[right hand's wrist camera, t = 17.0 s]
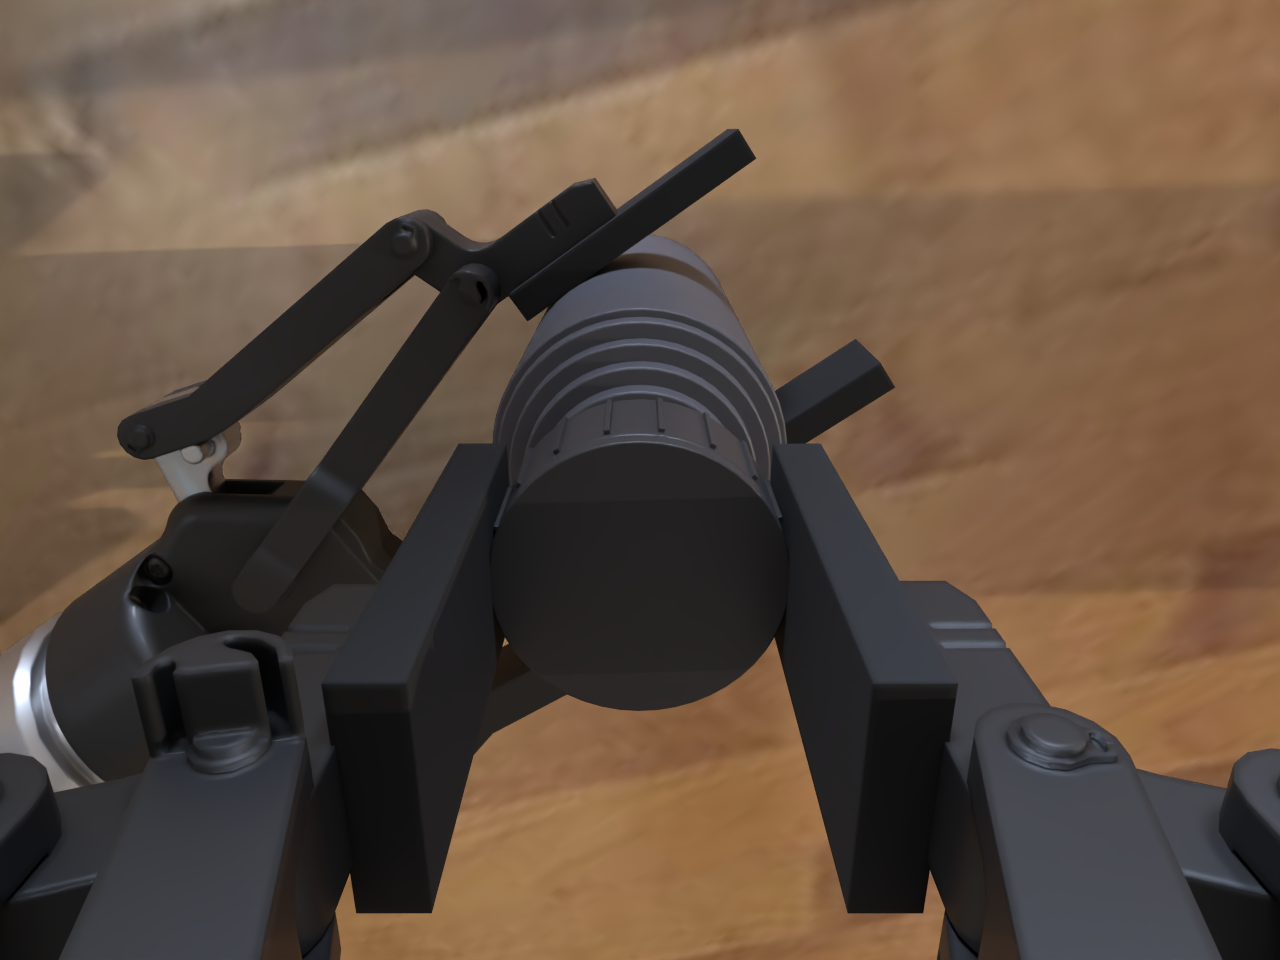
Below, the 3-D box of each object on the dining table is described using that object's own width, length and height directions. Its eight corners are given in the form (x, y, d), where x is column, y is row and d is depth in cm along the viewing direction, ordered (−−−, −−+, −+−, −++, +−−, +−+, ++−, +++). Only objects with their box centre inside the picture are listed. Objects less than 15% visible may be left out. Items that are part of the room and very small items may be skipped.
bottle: (744, 249, 28) (884, 410, 12) (710, 421, 30) (791, 755, 14) (562, 220, 28) (455, 345, 12) (541, 396, 30) (426, 709, 14)
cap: (613, 337, 13) (608, 373, 11) (831, 504, 14) (860, 562, 12) (452, 544, 15) (423, 607, 13) (662, 684, 16) (665, 762, 14)
